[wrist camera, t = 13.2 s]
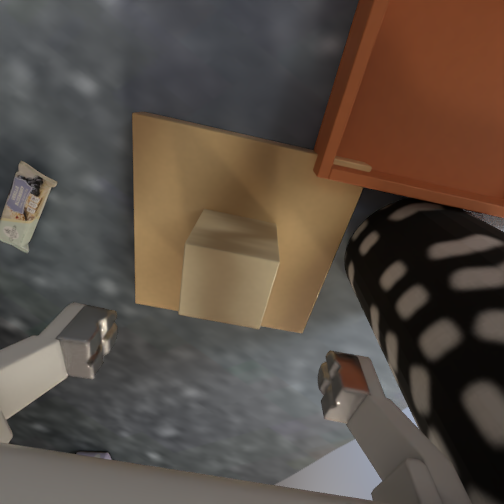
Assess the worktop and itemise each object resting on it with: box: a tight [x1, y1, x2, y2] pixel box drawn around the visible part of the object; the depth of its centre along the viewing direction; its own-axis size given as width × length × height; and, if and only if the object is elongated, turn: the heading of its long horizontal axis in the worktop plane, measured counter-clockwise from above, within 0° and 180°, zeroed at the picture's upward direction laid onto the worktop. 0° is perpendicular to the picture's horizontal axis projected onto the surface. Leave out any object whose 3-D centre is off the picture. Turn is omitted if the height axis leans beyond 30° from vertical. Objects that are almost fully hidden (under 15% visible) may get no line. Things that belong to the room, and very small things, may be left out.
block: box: [178, 209, 280, 329], centre depth 15 cm, size 4×4×4 cm
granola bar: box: [0, 161, 57, 254], centre depth 18 cm, size 7×2×1 cm, turn 142°
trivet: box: [132, 112, 372, 333], centre depth 18 cm, size 13×13×2 cm
